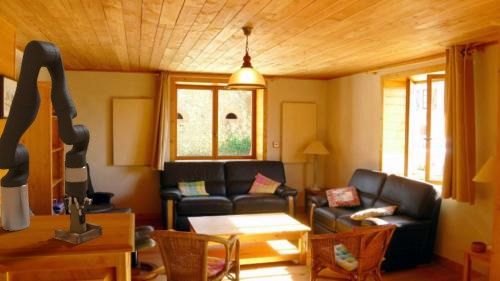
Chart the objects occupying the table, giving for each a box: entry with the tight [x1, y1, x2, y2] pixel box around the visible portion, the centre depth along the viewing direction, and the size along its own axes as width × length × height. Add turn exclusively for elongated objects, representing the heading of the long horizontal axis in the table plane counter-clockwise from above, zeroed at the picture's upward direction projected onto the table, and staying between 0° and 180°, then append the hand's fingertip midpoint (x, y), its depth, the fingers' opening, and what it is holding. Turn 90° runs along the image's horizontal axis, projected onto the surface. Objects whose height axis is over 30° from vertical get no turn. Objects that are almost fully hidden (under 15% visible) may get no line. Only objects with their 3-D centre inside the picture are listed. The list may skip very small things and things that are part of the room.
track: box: [53, 221, 103, 246], centre depth 153 cm, size 13×11×4 cm
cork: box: [68, 204, 86, 234], centre depth 153 cm, size 6×6×11 cm
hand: (77, 222), depth 153 cm, fingers closed on cork, 4 cm apart
